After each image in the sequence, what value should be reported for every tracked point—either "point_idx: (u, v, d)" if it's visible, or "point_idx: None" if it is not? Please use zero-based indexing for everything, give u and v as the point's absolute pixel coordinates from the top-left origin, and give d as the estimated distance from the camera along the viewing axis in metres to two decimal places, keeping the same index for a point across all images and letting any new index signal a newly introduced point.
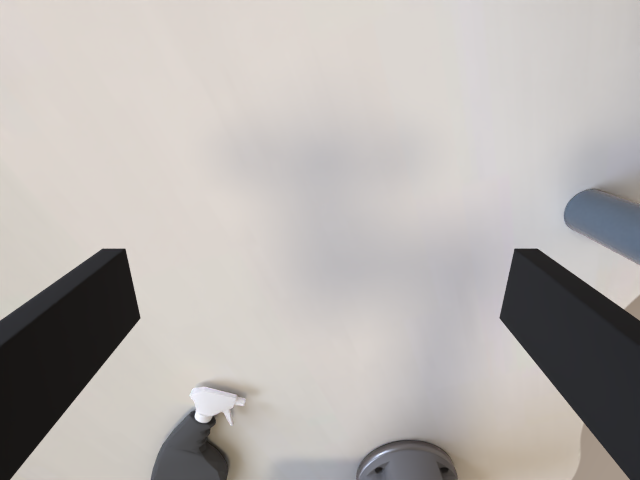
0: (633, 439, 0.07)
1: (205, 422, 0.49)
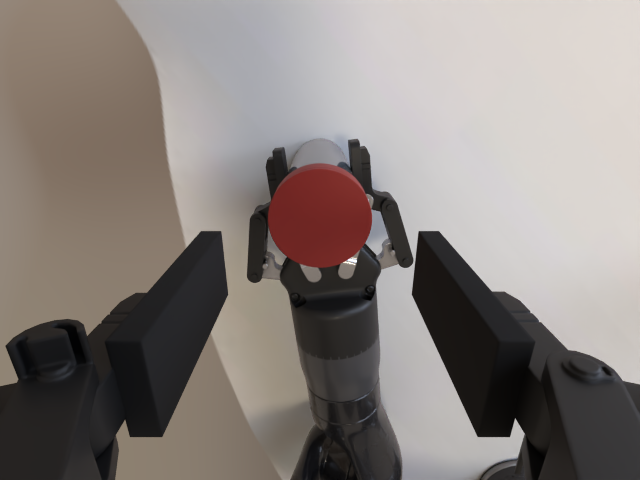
0: (468, 380, 0.09)
1: None
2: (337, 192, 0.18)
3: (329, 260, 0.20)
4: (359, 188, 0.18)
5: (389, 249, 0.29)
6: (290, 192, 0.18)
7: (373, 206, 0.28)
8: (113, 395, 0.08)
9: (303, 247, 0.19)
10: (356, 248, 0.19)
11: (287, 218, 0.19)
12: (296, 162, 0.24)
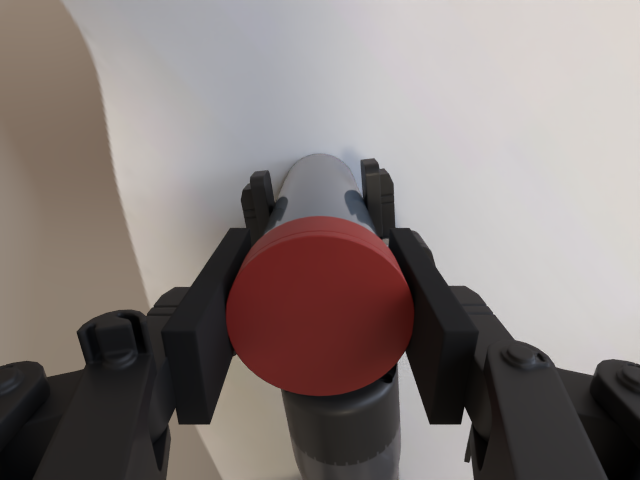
0: (423, 370, 0.09)
1: None
2: (352, 276, 0.10)
3: (336, 385, 0.11)
4: (393, 269, 0.10)
5: None
6: (264, 275, 0.10)
7: None
8: (167, 383, 0.08)
9: (290, 365, 0.11)
10: (384, 366, 0.11)
11: (260, 319, 0.10)
12: (283, 198, 0.16)
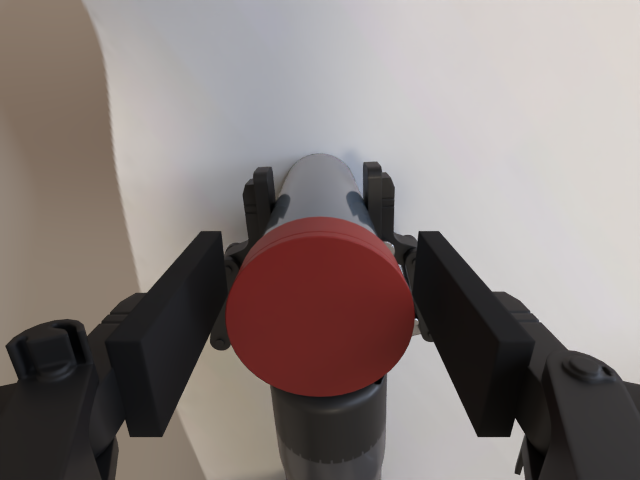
0: (468, 380, 0.09)
1: None
2: (268, 291, 0.10)
3: (401, 318, 0.10)
4: (264, 254, 0.09)
5: None
6: (262, 360, 0.11)
7: None
8: (113, 395, 0.08)
9: (366, 354, 0.11)
10: (386, 269, 0.10)
11: (308, 370, 0.11)
12: (286, 195, 0.16)
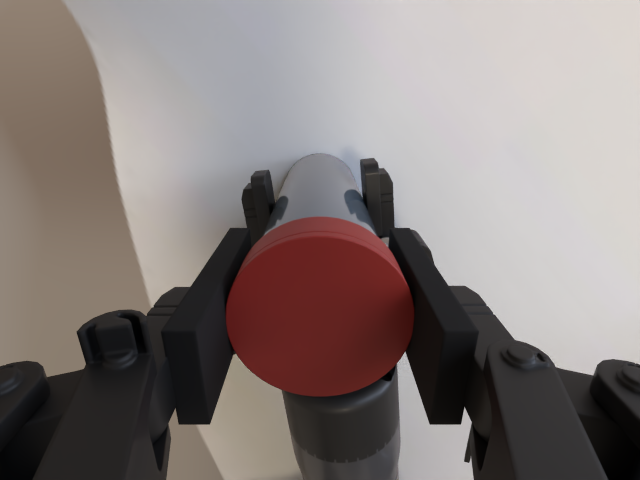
0: (423, 370, 0.09)
1: None
2: (266, 294, 0.10)
3: (401, 313, 0.10)
4: (260, 257, 0.10)
5: None
6: (265, 363, 0.11)
7: None
8: (167, 383, 0.08)
9: (368, 352, 0.11)
10: (382, 265, 0.10)
11: (311, 370, 0.11)
12: (284, 197, 0.16)
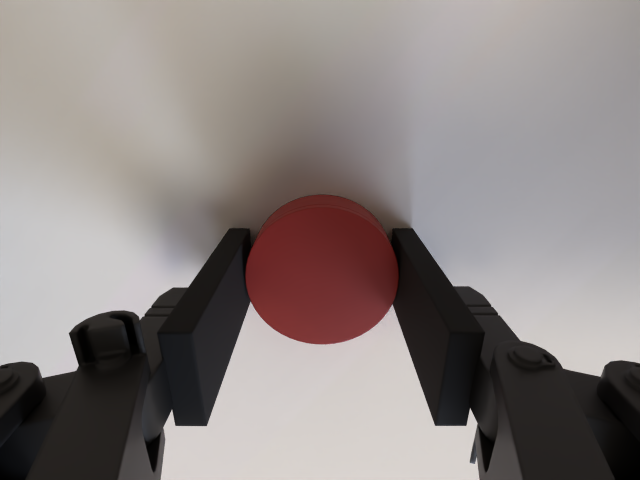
0: (428, 371, 0.09)
1: None
2: (279, 255, 0.12)
3: (387, 272, 0.12)
4: (274, 224, 0.12)
5: None
6: (277, 315, 0.13)
7: None
8: (163, 384, 0.08)
9: (361, 305, 0.13)
10: (372, 232, 0.12)
11: (315, 321, 0.13)
12: None
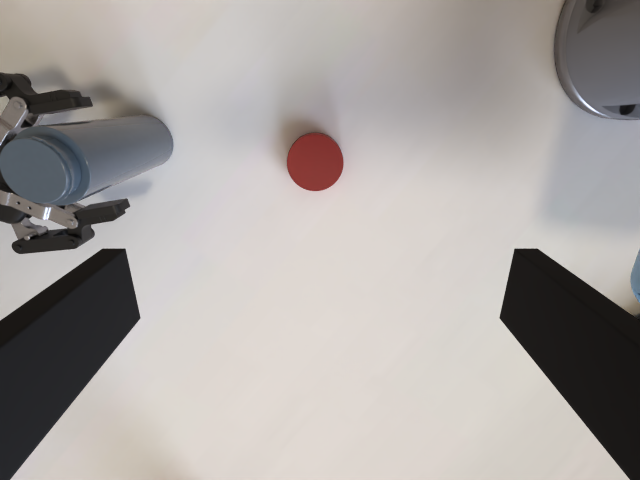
0: (633, 439, 0.07)
1: None
2: (299, 153, 0.34)
3: (338, 159, 0.34)
4: (298, 141, 0.34)
5: (32, 234, 0.32)
6: (298, 177, 0.35)
7: (70, 228, 0.31)
8: None
9: (329, 173, 0.35)
10: (332, 143, 0.34)
11: (312, 180, 0.35)
12: (112, 132, 0.26)
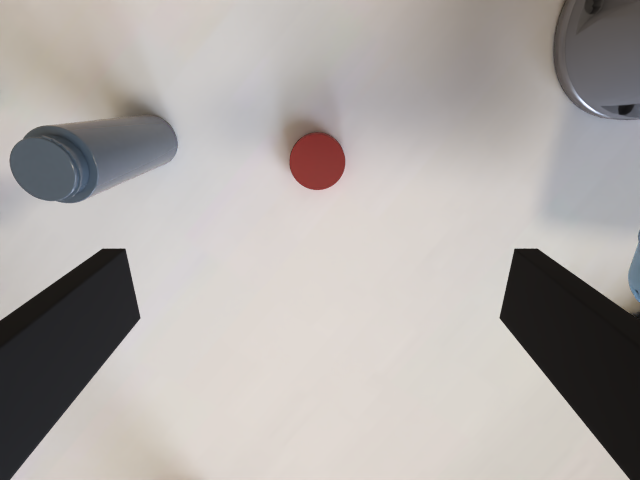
0: (633, 439, 0.07)
1: None
2: (302, 152, 0.35)
3: (340, 158, 0.35)
4: (300, 140, 0.34)
5: None
6: (300, 176, 0.36)
7: None
8: None
9: (331, 172, 0.35)
10: (334, 143, 0.34)
11: (314, 179, 0.36)
12: (119, 131, 0.27)
